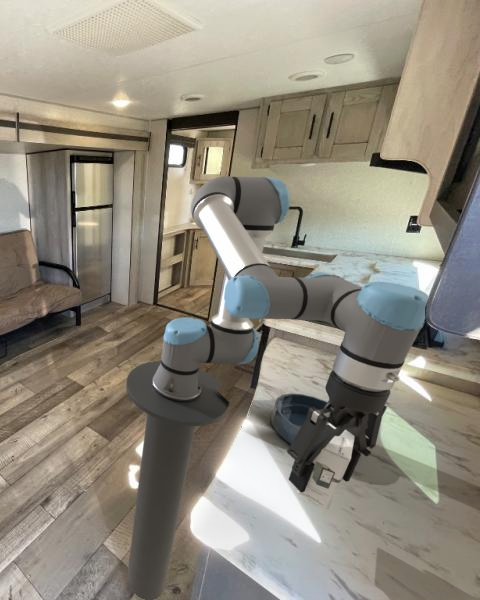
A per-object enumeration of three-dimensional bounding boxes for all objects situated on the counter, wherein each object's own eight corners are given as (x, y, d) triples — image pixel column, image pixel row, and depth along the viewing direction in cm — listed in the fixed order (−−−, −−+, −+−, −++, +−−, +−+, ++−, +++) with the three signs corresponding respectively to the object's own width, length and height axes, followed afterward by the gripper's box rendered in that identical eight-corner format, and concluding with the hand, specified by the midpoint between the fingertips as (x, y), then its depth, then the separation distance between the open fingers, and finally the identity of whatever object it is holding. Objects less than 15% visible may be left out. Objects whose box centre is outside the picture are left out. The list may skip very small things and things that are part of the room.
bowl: (255, 415, 91) (260, 398, 89) (307, 406, 96) (312, 390, 93) (311, 468, 75) (319, 448, 73) (371, 455, 79) (380, 436, 77)
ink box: (305, 464, 65) (322, 418, 60) (335, 479, 61) (356, 432, 57) (296, 493, 59) (314, 443, 54) (328, 511, 56) (351, 460, 51)
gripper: (326, 403, 45) (285, 512, 54) (439, 384, 50) (385, 486, 59) (284, 373, 52) (253, 473, 60) (387, 359, 57) (345, 454, 65)
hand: (318, 480), depth 59 cm, fingers closed on ink box, 9 cm apart
